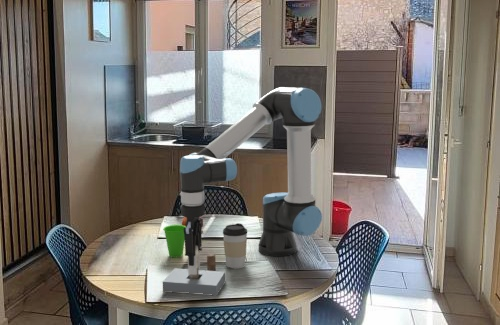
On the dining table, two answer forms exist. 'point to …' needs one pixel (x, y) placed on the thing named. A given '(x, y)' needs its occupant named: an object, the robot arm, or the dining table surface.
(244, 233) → the coffee cup
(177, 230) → the cup
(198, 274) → the long pin
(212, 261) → the short pin
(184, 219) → the tomato
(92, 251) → the dining table surface
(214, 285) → the grey block with hole
